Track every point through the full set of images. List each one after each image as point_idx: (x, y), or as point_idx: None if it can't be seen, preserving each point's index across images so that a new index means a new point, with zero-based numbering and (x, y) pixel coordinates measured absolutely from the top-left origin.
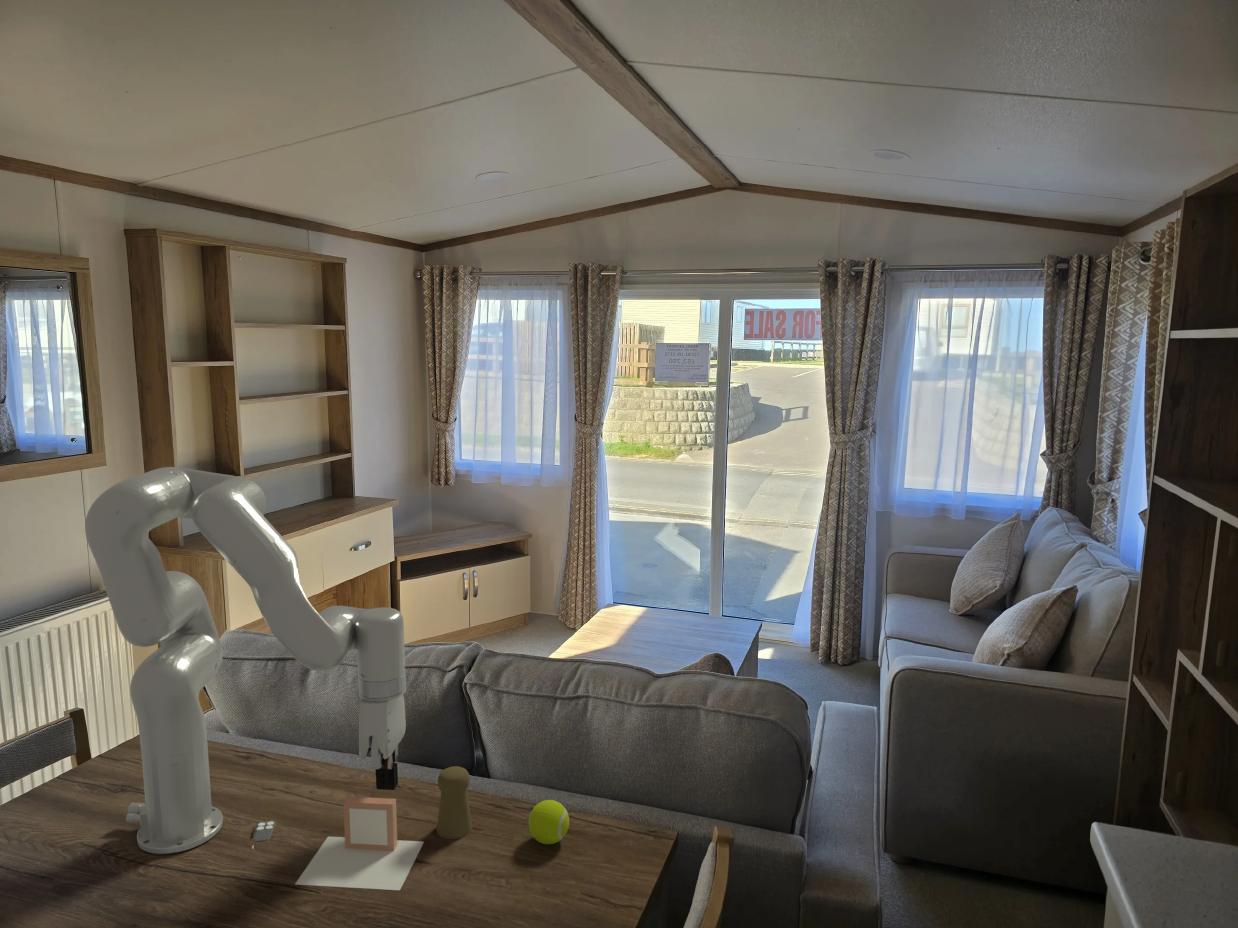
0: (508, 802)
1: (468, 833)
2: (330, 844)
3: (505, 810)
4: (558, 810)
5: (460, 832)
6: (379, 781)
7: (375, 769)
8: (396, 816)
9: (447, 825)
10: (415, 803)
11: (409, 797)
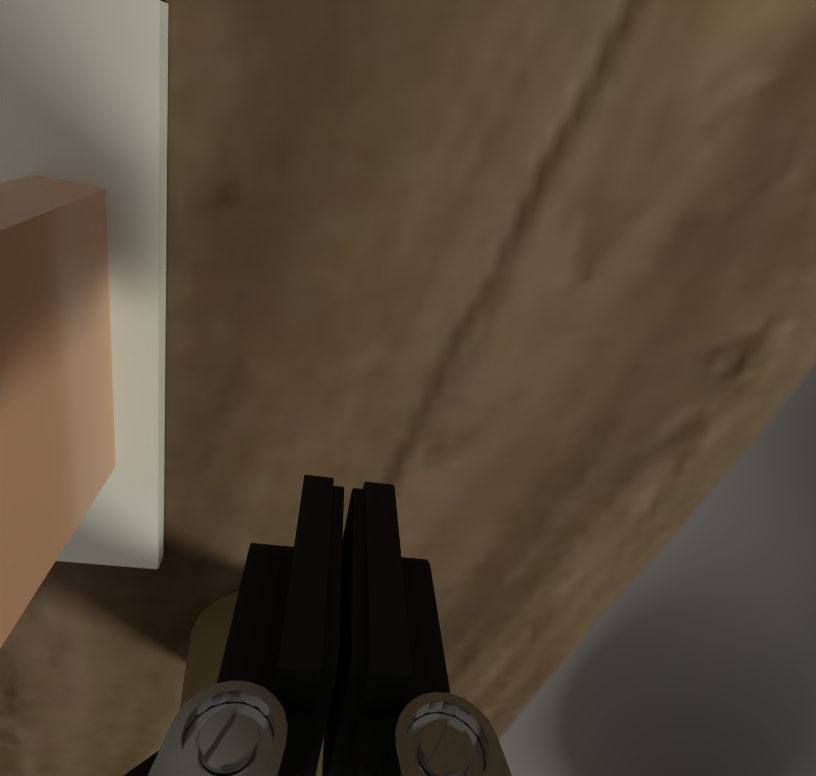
0: None
1: None
2: (60, 47)
3: None
4: None
5: None
6: (244, 574)
7: (285, 632)
8: (28, 598)
9: (183, 699)
10: (532, 473)
11: (599, 438)
